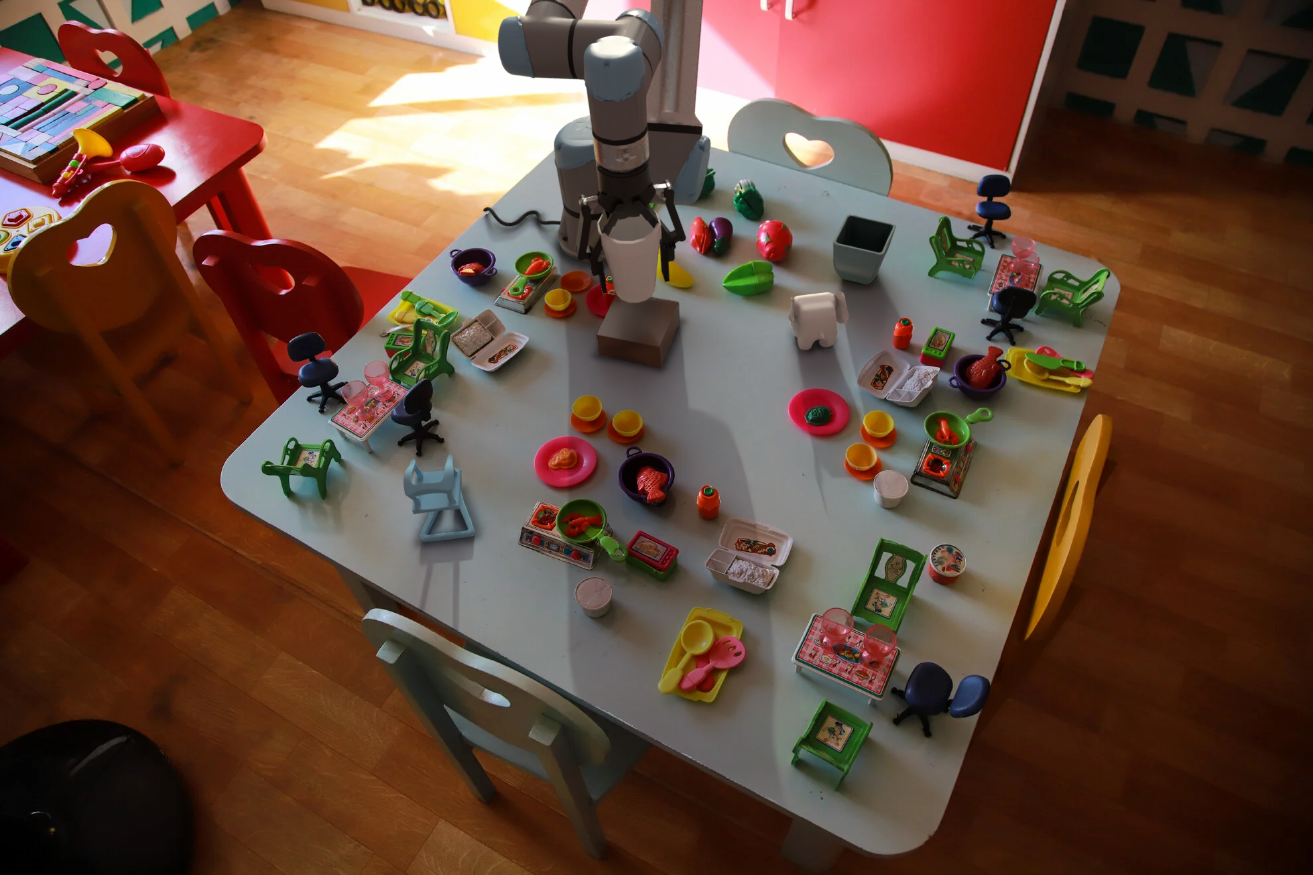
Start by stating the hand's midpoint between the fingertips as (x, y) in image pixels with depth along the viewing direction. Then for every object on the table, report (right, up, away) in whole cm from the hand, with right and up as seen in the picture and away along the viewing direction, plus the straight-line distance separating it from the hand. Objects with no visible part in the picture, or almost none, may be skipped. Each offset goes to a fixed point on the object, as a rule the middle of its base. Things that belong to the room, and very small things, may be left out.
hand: (634, 282), depth 131 cm
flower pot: (+40, +5, +18) cm, 44 cm away
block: (+1, -8, +10) cm, 13 cm away
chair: (-27, -36, -10) cm, 46 cm away
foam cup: (0, -1, +1) cm, 2 cm away
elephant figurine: (+30, -7, +9) cm, 32 cm away
